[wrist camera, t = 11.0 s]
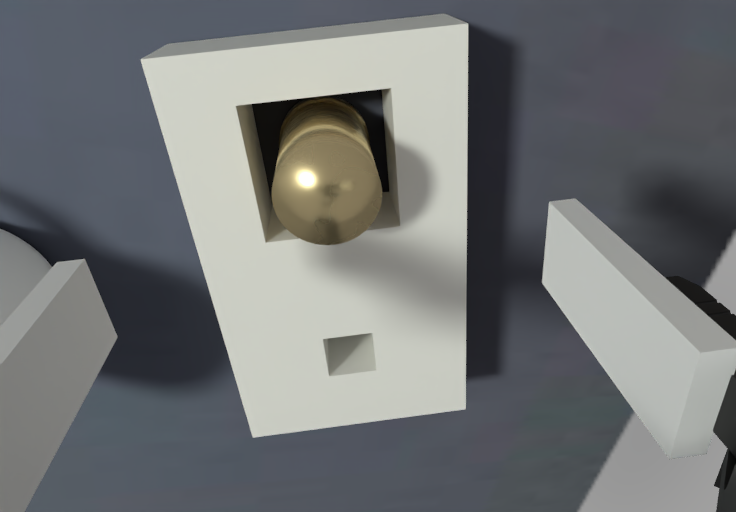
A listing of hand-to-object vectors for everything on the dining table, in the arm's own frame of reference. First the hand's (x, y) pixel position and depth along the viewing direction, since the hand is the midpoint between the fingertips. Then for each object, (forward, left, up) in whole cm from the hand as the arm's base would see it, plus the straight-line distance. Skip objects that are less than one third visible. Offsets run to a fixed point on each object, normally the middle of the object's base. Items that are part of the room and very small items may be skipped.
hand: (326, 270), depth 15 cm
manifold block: (-5, 0, -12) cm, 12 cm away
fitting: (0, 0, -12) cm, 12 cm away
